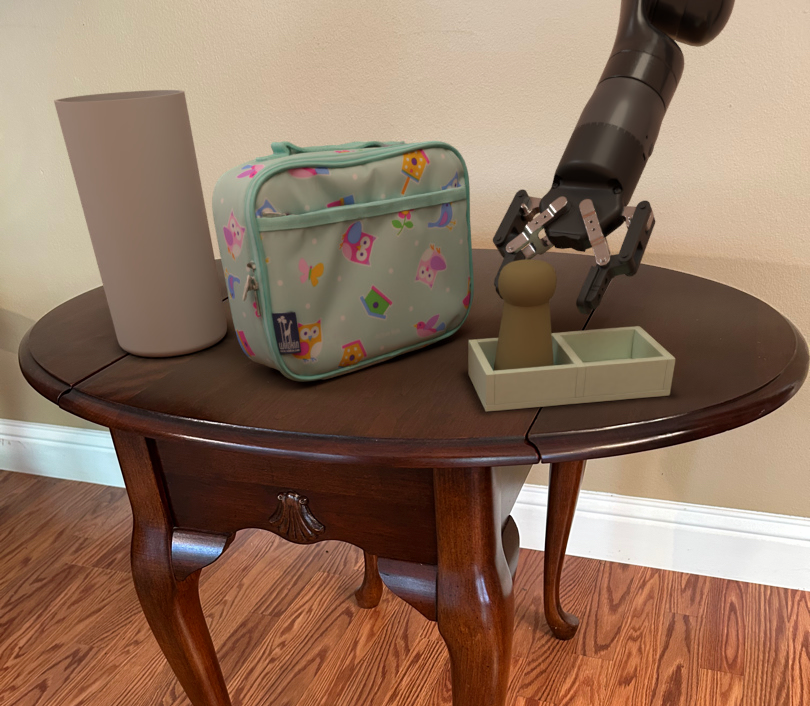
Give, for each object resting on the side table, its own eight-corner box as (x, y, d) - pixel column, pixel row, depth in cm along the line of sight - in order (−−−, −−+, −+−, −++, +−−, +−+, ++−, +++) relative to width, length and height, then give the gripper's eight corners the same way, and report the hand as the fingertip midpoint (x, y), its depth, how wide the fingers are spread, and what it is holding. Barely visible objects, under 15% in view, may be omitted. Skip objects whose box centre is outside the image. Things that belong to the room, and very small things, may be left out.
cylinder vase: (199, 361, 83) (144, 99, 69) (98, 357, 86) (26, 103, 72) (245, 324, 93) (205, 88, 79) (153, 321, 96) (99, 92, 82)
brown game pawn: (535, 397, 70) (541, 275, 64) (479, 383, 73) (480, 266, 67) (566, 375, 74) (575, 258, 67) (512, 363, 77) (515, 250, 71)
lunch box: (272, 404, 73) (233, 158, 61) (226, 373, 80) (183, 147, 68) (482, 338, 86) (485, 122, 73) (427, 316, 93) (421, 116, 80)
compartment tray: (635, 360, 78) (639, 325, 76) (669, 395, 71) (675, 358, 69) (468, 374, 77) (468, 339, 75) (485, 411, 70) (486, 374, 68)
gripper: (530, 116, 72) (461, 270, 71) (676, 121, 64) (600, 292, 64) (554, 169, 78) (491, 311, 78) (690, 179, 71) (621, 335, 70)
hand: (540, 302), depth 71 cm, fingers open, 8 cm apart
